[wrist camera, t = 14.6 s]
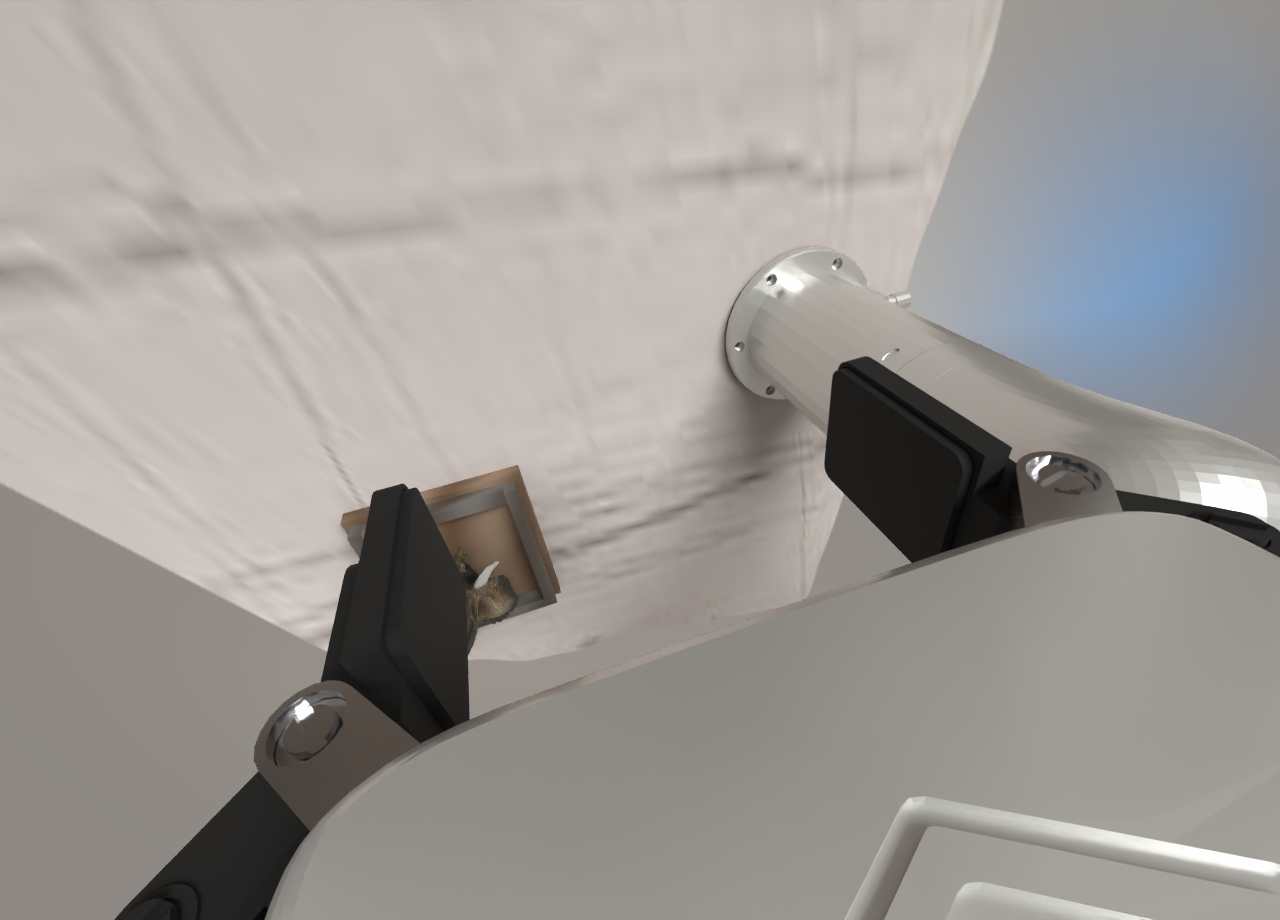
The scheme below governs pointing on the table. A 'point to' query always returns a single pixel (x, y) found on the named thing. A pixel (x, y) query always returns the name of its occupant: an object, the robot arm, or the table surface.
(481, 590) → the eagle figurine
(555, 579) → the wooden tray
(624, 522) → the table surface
